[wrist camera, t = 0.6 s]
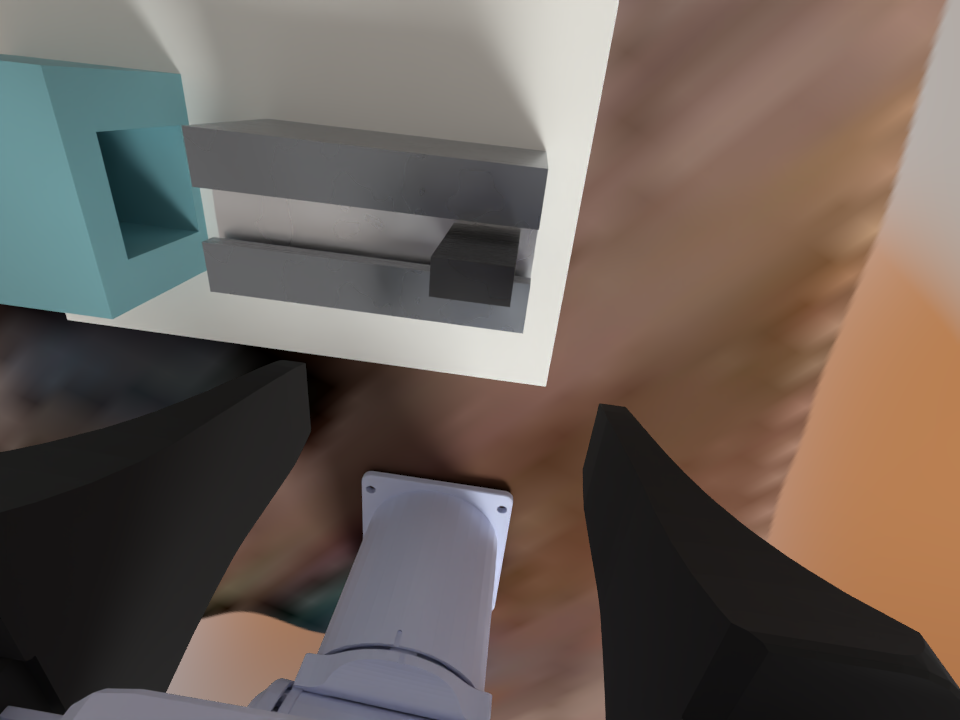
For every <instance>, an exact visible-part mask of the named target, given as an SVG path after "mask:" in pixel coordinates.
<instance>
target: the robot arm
mask: <svg viewBox="0 0 960 720" xmlns="http://www.w3.org/2000/svg"><path fill="white" fill-rule="evenodd" d="M310 432H311V424H310V412H309V400H308V387H307V375H306V363H301V362H294V361H287V360H279V361H276V362H273V363H271V364H268V365H266V366H263V367H261V368H258V369H256V370H254V371H251V372H249V373H247V374H245V375H242V376H240V377H238V378H236V379H233V380H231V381H229V382H227V383H224V384H222V385H220V386H217V387H215V388H213V389H211V390H208V391H206V392H204V393H201V394H199V395H196V396H194V397H191V398H189V399H186V400H184V401H181V402H179V403H176V404H174V405H171V406H169V407H166V408H164V409H161V410H158V411H155V412H153V413H150V414H147V415H144V416H141V417H138V418H135V419H132V420H129V421H126V422H122V423H119V424H116V425H113V426H109V427H106V428H103V429H99V430H95V431H91V432H87V433H83V434H79V435H76V436H72V437H68V438H64V439H60V440H56V441H52V442H48V443H44V444H39V445H34V446H30V447H25V448H20V449H15V450H10V451H5V452H0V720H490V717H491V705H492V695H491V694H490V693H487V692H484V686H485V675H486V665H487V654H488V644H489V633H490V622H491V612H492V610H493V609H494V607H495V601H496V596H497V590H498V584H499V579H500V573H501V567H502V562H503V556H504V550H505V545H506V539H507V533H508V528H509V522H510V516H511V510H512V505H513V496H512V494H511V493H509V492H507V491H503V490H496V489H490V488H483V487H476V486H470V485H463V484H457V483H450V482H443V481H437V480H430V479H423V478H417V477H410V476H403V475H397V474H390V473H383V472H377V471H368V472H366V473H365V474H364V475H363V478H362V515H363V541H362V543H361V546H360V548H359V551H358V553H357V556H356V558H355V561H354V563H353V566H352V568H351V571H350V573H349V576H348V578H347V581H346V583H345V586H344V588H343V591H342V593H341V596H340V598H339V601H338V603H337V606H336V608H335V611H334V613H333V616H332V618H331V621H330V623H329V626H328V628H327V631H326V633H325V636H324V639H323V641H322V643H321V646H320V648H319V651H318V653H317V654H312V653H307V654H306V655H305V657H304V660H303V662H302V665H301V667H300V670H299V672H298V674H297V677H296V679H295V681H291V680H287V679H283V678H281V679H278V680H276V681H274V682H273V683H272V684H271V685H270V686H269V687H268V688H267V689H265V690H264V691H263V692H261V693H260V694H258V695H257V696H256V697H255V698H254V699H253V700H252V701H251V703H250V704H249V705H248V706H247V707H243V706H237V705H232V704H226V703H220V702H215V701H208V700H203V699H197V698H192V697H185V696H180V695H174V694H168V693H166V691H167V689H168V687H169V685H170V682H171V680H172V678H173V676H174V674H175V672H176V670H177V668H178V665H179V663H180V661H181V659H182V657H183V655H184V653H185V650H186V649H187V646H188V644H189V642H190V640H191V638H192V636H193V634H194V631H195V630H196V628H197V626H198V624H199V622H200V620H201V618H202V616H203V614H204V612H205V610H206V608H207V606H208V604H209V602H210V600H211V598H212V596H213V594H214V592H215V590H216V588H217V587H218V585H219V583H220V581H221V579H222V577H223V575H224V574H225V572H226V570H227V568H228V566H229V564H230V562H231V561H232V559H233V557H234V555H235V553H236V552H237V550H238V549H239V547H240V545H241V544H242V542H243V541H244V539H245V537H246V536H247V534H248V533H249V532H250V530H251V529H252V527H253V526H254V524H255V523H256V521H257V520H258V518H259V517H260V515H261V514H262V513H263V511H264V510H265V508H266V507H267V505H268V504H269V502H270V501H271V499H272V498H273V496H274V495H275V494H276V492H277V491H278V489H279V488H280V486H281V485H282V483H283V482H284V480H285V479H286V477H287V476H288V474H289V473H290V471H291V470H292V468H293V467H294V465H295V463H296V461H297V459H298V457H299V455H300V453H301V451H302V449H303V447H304V445H305V443H306V441H307V439H308V436H309V434H310ZM370 486H372V487H374V488H371V487H370ZM583 499H584V511H585V518H586V524H587V530H588V537H589V543H590V549H591V555H592V561H593V566H594V572H595V578H596V584H597V590H598V598H599V606H600V615H601V632H602V648H603V666H604V687H605V710H606V720H960V688H959V687H958V685H957V684H956V683H955V681H954V680H953V679H952V677H951V676H950V674H949V673H948V672H947V670H946V669H945V667H944V666H943V665H942V664H941V662H940V660H939V659H938V658H937V656H936V655H935V653H934V652H933V651H932V649H931V648H930V646H929V645H928V644H927V642H926V641H925V640H924V638H923V637H922V635H921V634H920V633H919V632H917V631H915V630H913V629H911V628H909V627H908V626H906V625H904V624H902V623H900V622H898V621H896V620H895V619H893V618H891V617H889V616H887V615H885V614H884V613H882V612H880V611H878V610H876V609H874V608H872V607H870V606H869V605H867V604H865V603H863V602H861V601H859V600H858V599H856V598H854V597H852V596H850V595H849V594H846V593H845V592H843V591H842V590H840V589H838V588H837V587H835V586H833V585H832V584H830V583H828V582H827V581H825V580H823V579H822V578H820V577H818V576H817V575H815V574H814V573H812V572H810V571H809V570H807V569H806V568H804V567H802V566H801V565H800V564H798V563H797V562H795V561H793V560H792V559H790V558H789V557H787V556H786V555H784V554H783V553H782V552H780V551H779V550H777V549H776V548H775V547H773V546H772V545H770V544H769V543H768V542H766V541H765V540H763V539H762V538H761V537H759V536H758V535H756V534H755V533H754V532H752V531H751V530H750V529H748V528H747V527H746V526H744V525H743V524H742V523H741V522H739V521H738V520H737V519H736V518H734V517H733V516H732V515H731V514H730V513H728V512H727V511H726V510H725V509H724V508H722V507H721V506H720V505H719V504H718V503H716V502H715V501H714V500H713V499H712V498H711V497H710V496H708V495H707V494H706V493H705V492H704V491H703V490H702V489H701V488H700V487H699V486H698V485H697V484H696V483H695V482H694V481H693V480H691V479H690V478H689V477H688V476H687V475H686V474H685V473H684V472H683V471H682V470H681V469H680V468H679V467H678V466H677V465H676V464H675V462H674V461H673V460H672V459H671V458H670V457H669V456H668V455H667V454H666V453H665V452H664V451H663V450H662V448H661V447H660V446H659V445H658V444H657V443H656V442H655V441H654V439H653V438H652V437H651V436H650V435H649V434H648V432H647V431H646V430H645V429H644V428H643V427H642V426H641V424H640V423H639V422H638V421H637V420H636V418H635V417H634V416H633V415H632V414H631V413H630V412H629V411H628V409H627V408H626V407H621V406H614V405H607V404H599V407H598V411H597V415H596V419H595V423H594V427H593V431H592V435H591V439H590V443H589V447H588V451H587V455H586V459H585V463H584V467H583ZM499 506H504V507H505V508H501V507H499Z"/></svg>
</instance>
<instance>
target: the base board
mask: <svg viewBox="0 0 960 720" xmlns="http://www.w3.org/2000/svg"><path fill="white" fill-rule="evenodd" d="M618 4H619V0H0V54H7V55H17V56H25V57H34V58H43V59H52V60H61V61H70V62H78V63H87V64H96V65H105V66H114V67H123V68H131V69H140V70H149V71H158V72H167V73H175V74H181V79H182V85H183V91H184V97H185V103H186V109H187V115H188V121H189V125H194V124H206V123H219V122H232V121H244V120H257V119H274V120H283V121H292V122H300V123H309V124H317V125H326V126H334V127H343V128H352V129H360V130H369V131H377V132H386V133H394V134H403V135H412V136H420V137H429V138H437V139H446V140H454V141H463V142H472V143H480V144H489V145H497V146H506V147H514V148H523V149H531V150H540V151H546V153H547V161H548V175H547V181H546V188H545V194H544V201H543V207H542V214H541V220H540V227H539V230H538V233H537V239H536V246H535V252H534V259H533V265H532V272H531V285H530V291H529V298H528V304H527V311H526V317H525V324H524V330H523V334H522V333H514V332H507V331H500V330H492V329H485V328H477V327H470V326H462V325H455V324H448V323H440V322H433V321H425V320H418V319H411V318H403V317H396V316H388V315H381V314H373V313H366V312H359V311H351V310H344V309H336V308H329V307H321V306H314V305H307V304H299V303H292V302H284V301H277V300H270V299H262V298H255V297H247V296H240V295H232V294H225V293H218V292H210V286H209V280H208V274H207V271H205V272H203V273H201V274H199V275H197V276H195V277H193V278H191V279H189V280H187V281H185V282H184V283H182V284H180V285H178V286H176V287H174V288H172V289H170V290H168V291H166V292H164V293H162V294H160V295H159V296H157V297H155V298H153V299H151V300H149V301H147V302H145V303H143V304H141V305H139V306H137V307H135V308H134V309H132V310H130V311H128V312H126V313H124V314H122V315H120V316H118V317H116V318H114V319H107V318H100V317H92V316H85V315H78V314H71V313H65V314H66V317H67V320H72V321H79V322H87V323H94V324H101V325H108V326H115V327H122V328H130V329H137V330H144V331H151V332H158V333H165V334H173V335H180V336H187V337H194V338H201V339H208V340H215V341H223V342H230V343H237V344H244V345H251V346H258V347H266V348H273V349H280V350H287V351H294V352H301V353H309V354H316V355H323V356H330V357H337V358H344V359H352V360H359V361H366V362H373V363H380V364H387V365H395V366H402V367H409V368H416V369H423V370H430V371H438V372H445V373H452V374H459V375H466V376H473V377H481V378H488V379H495V380H502V381H509V382H516V383H524V384H531V385H538V386H545V387H546V383H547V377H548V372H549V367H550V362H551V356H552V351H553V346H554V341H555V335H556V330H557V325H558V320H559V314H560V309H561V304H562V298H563V293H564V288H565V283H566V277H567V272H568V267H569V262H570V256H571V251H572V246H573V241H574V235H575V230H576V225H577V220H578V214H579V209H580V204H581V199H582V193H583V188H584V183H585V178H586V172H587V167H588V162H589V156H590V151H591V146H592V141H593V135H594V130H595V125H596V120H597V114H598V109H599V104H600V99H601V93H602V88H603V83H604V78H605V72H606V67H607V62H608V57H609V51H610V46H611V41H612V35H613V30H614V25H615V20H616V14H617V9H618ZM200 192H201V198H202V204H203V210H204V216H205V222H206V228H207V234H208V239H210V238H212V237H218V238H219V232H218V226H217V220H216V213H215V207H214V200H213V194H212V189H206V188H200Z"/></svg>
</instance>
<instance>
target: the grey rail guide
mask: <svg viewBox="0 0 960 720" xmlns="http://www.w3.org/2000/svg"><path fill="white" fill-rule="evenodd" d="M182 131H183V137H184V142H185V148H186V154H187V160H188V165H189V171H190V177H191V183H192V187H198V188H206V189H214V190H222V191H230V192H238V193H246V194H254V195H262V196H270V197H278V198H286V199H294V200H302V201H310V202H318V203H326V204H334V205H342V206H350V207H358V208H367V209H375V210H383V211H391V212H399V213H407V214H415V215H423V216H431V217H439V218H447V219H455V220H463V221H471V222H479V223H487V224H495V225H503V226H511V227H519V228H527V229H535V230H539V227H540V220H541V214H542V207H543V201H544V194H545V188H546V181H547V175H548V161H547V153H546V151H540V150H531V149H523V148H514V147H506V146H497V145H489V144H480V143H472V142H463V141H454V140H446V139H437V138H429V137H420V136H412V135H403V134H394V133H386V132H377V131H369V130H360V129H352V128H343V127H334V126H326V125H317V124H309V123H300V122H292V121H283V120H274V119H257V120H244V121H232V122H219V123H206V124H194V125H182ZM202 246H203V251H204V257H205V263H206V269H207V274H208V280H209V286H210V292H218V293H225V294H232V295H240V296H247V297H255V298H262V299H270V300H277V301H284V302H292V303H299V304H307V305H314V306H321V307H329V308H336V309H344V310H351V311H359V312H366V313H373V314H381V315H388V316H396V317H403V318H411V319H418V320H425V321H433V322H440V323H448V324H455V325H462V326H470V327H477V328H485V329H492V330H500V331H507V332H514V333H522V334H523V330H524V324H525V317H526V311H527V304H528V298H529V291H530V285H531V278H527V277H520V276H514V282H513V289H512V296H511V303H510V307H504V306H496V305H488V304H481V303H473V302H466V301H458V300H451V299H443V298H436V297H429V281H430V265H427V264H419V263H411V262H404V261H396V260H388V259H380V258H373V257H365V256H357V255H349V254H342V253H334V252H326V251H318V250H311V249H303V248H295V247H287V246H280V245H272V244H264V243H256V242H249V241H241V240H233V239H226V238H218V237H212V238H210V239H207V240H205V241H203V242H202Z"/></svg>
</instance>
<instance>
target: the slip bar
mask: <svg viewBox="0 0 960 720" xmlns="http://www.w3.org/2000/svg"><path fill="white" fill-rule="evenodd" d="M212 194H213V200H214V207H215V213H216V220H217V226H218V232H219V238H226V239H233V240H241V241H249V242H256V243H264V244H272V245H280V246H287V247H295V248H303V249H311V250H318V251H326V252H334V253H342V254H349V255H357V256H365V257H373V258H380V259H388V260H396V261H404V262H411V263H419V264H427V265H430V281H429V297H436V298H443V299H451V300H458V301H466V302H473V303H481V304H488V305H496V306H504V307H510V303H511V296H512V289H513V282H514V276H520V277H527V278H531V272H532V265H533V259H534V252H535V246H536V239H537V233H538V230H535V229H527V228H519V227H511V226H503V225H495V224H487V223H479V222H471V221H463V220H455V219H447V218H439V217H431V216H423V215H415V214H407V213H399V212H391V211H383V210H375V209H367V208H358V207H350V206H342V205H334V204H326V203H318V202H310V201H302V200H294V199H286V198H278V197H270V196H262V195H254V194H246V193H238V192H230V191H222V190H214V189H212Z"/></svg>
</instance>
